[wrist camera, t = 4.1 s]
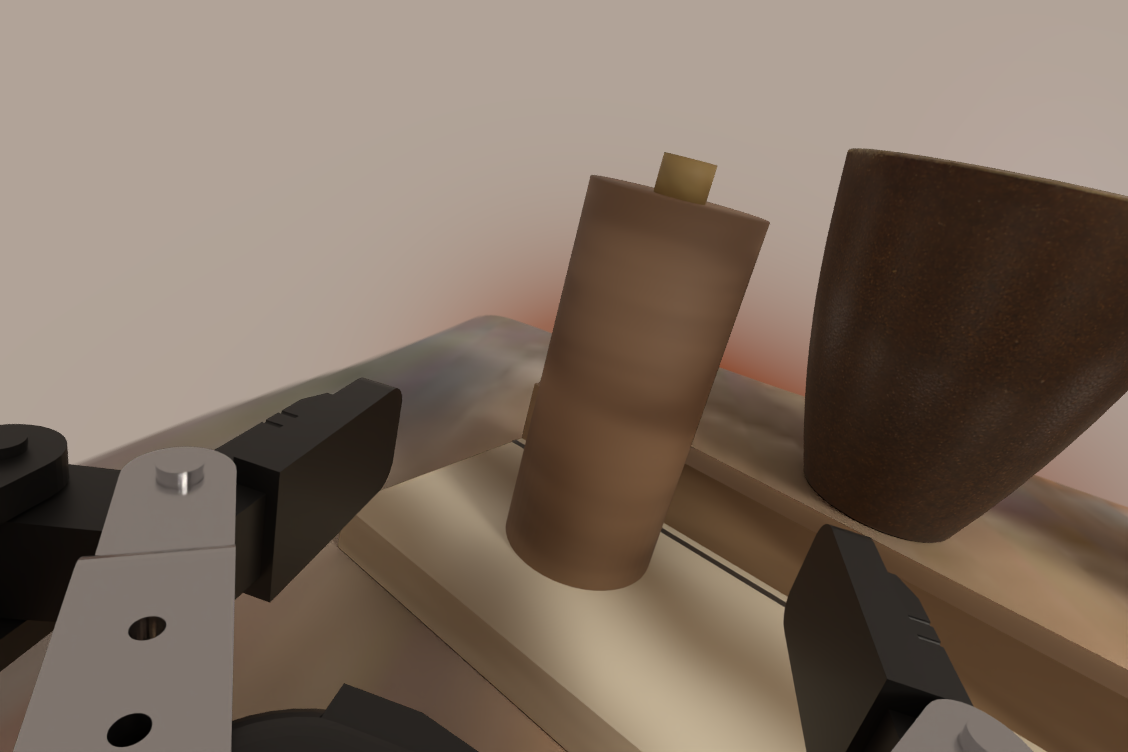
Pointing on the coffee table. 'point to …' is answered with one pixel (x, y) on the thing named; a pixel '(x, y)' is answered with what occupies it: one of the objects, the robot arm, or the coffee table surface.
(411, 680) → the coffee table surface
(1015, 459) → the plant pot
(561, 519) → the cylinder
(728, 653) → the board
